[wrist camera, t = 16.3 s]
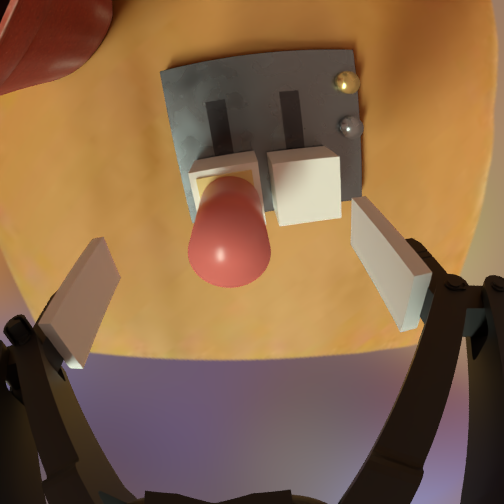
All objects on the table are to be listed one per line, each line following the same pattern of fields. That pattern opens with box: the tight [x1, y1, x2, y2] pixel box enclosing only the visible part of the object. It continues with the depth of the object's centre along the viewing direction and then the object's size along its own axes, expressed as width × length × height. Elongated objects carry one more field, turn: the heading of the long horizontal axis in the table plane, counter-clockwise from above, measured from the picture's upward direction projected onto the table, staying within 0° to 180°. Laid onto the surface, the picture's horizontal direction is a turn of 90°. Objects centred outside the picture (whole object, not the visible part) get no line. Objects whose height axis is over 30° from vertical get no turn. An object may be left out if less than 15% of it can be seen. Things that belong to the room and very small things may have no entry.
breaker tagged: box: [188, 151, 266, 225], centre depth 24 cm, size 5×5×4 cm
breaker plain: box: [267, 146, 341, 226], centre depth 24 cm, size 5×5×4 cm
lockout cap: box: [188, 176, 271, 288], centre depth 19 cm, size 4×4×7 cm
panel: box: [160, 50, 364, 223], centre depth 24 cm, size 14×16×2 cm
